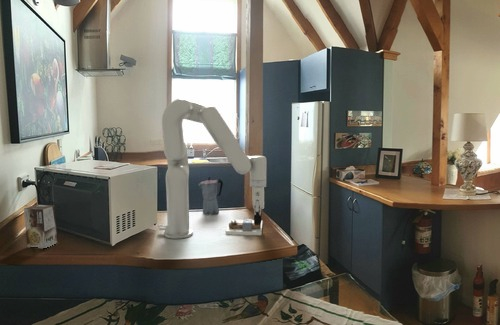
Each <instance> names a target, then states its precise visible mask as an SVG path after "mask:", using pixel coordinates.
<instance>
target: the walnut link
mask: <svg viewBox="0 0 500 325" xmlns="http://www.w3.org/2000/svg"><path fill="white" fill-rule="evenodd" d="M253 211H254V212H253V216H254V215H255V210H253ZM228 224H229V228H242V223H237V222H236V224H231V223H229V222H228ZM252 228H261V224H254V223H252Z"/></svg>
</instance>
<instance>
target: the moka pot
mask: <svg viewBox="0 0 500 325" xmlns="http://www.w3.org/2000/svg"><path fill="white" fill-rule="evenodd" d="M219 183H220V184H219ZM218 184H219V193H218ZM198 186H199V187H200V189H201V194H202V197H203V200H202V201H203V202H202V213H203V215H204V214H205V215H215V214H218V213H219V211H220V209H219V205H218V199H217V197H219V196H221V194H222V190H223V186H224V182H223V181H222V180H221V179H220V178H219V179H214V180H212V179H211V177H210V176H208V177H207V180H204V181H201V182H199V183H198Z"/></svg>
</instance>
